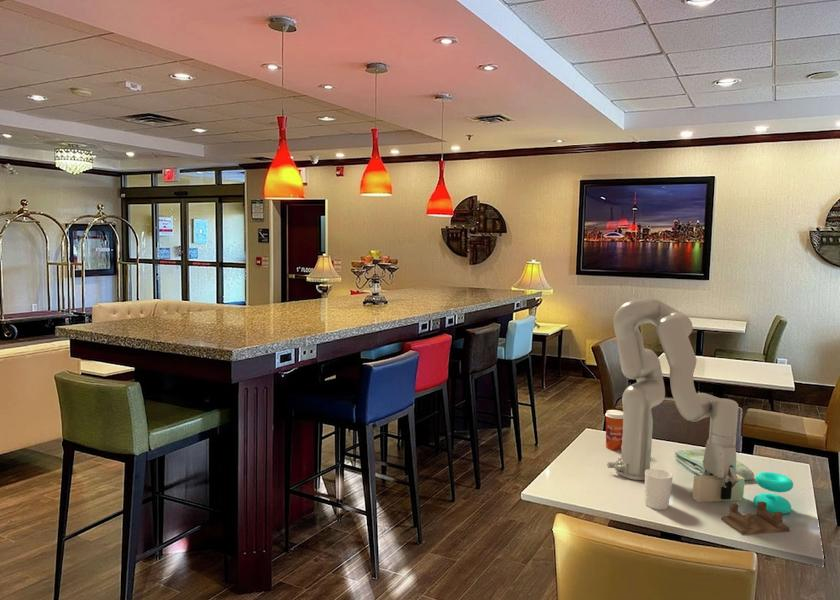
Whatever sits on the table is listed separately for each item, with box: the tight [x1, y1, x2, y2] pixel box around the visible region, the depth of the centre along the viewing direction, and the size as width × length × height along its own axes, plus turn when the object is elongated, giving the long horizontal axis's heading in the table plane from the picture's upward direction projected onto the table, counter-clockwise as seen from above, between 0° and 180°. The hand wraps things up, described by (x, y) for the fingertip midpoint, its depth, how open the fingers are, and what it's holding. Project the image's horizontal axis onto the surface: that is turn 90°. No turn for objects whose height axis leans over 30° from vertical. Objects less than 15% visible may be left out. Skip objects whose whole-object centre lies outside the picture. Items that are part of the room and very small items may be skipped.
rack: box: [720, 502, 791, 535], centre depth 180 cm, size 15×9×5 cm, turn 100°
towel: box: [674, 448, 755, 481], centre depth 221 cm, size 18×21×5 cm
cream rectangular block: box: [692, 474, 746, 503], centre depth 197 cm, size 15×4×7 cm, turn 99°
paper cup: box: [605, 409, 623, 451], centre depth 241 cm, size 8×8×14 cm
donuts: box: [753, 471, 794, 515], centre depth 191 cm, size 10×10×10 cm
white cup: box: [644, 468, 674, 511], centre depth 191 cm, size 8×8×10 cm
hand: (718, 493), depth 198 cm, fingers open, 6 cm apart
